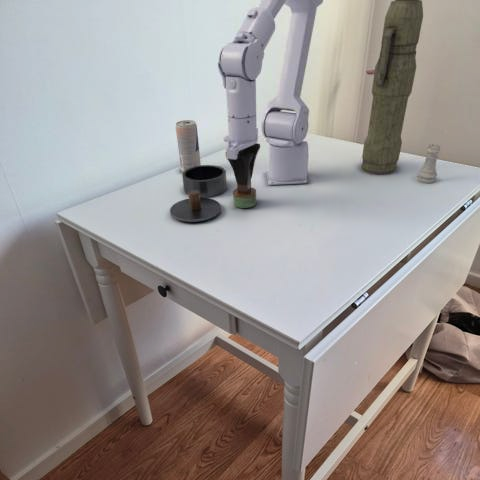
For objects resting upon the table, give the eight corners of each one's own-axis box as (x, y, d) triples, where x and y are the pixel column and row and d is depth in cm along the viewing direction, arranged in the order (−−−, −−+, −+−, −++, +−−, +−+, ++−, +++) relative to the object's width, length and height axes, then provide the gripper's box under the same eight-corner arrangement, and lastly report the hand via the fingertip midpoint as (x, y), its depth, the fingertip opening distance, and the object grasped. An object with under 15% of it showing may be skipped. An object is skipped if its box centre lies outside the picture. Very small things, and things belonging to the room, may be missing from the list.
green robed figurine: (405, 164, 110) (439, -4, 88) (384, 179, 103) (416, 0, 81) (373, 158, 115) (399, -4, 92) (351, 171, 108) (373, 0, 86)
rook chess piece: (415, 182, 101) (423, 148, 96) (416, 175, 104) (424, 142, 99) (435, 184, 100) (444, 149, 95) (436, 177, 103) (445, 143, 98)
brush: (237, 197, 98) (236, 162, 93) (259, 199, 97) (258, 164, 92) (230, 206, 94) (228, 171, 89) (252, 209, 93) (251, 173, 88)
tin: (226, 179, 108) (225, 164, 105) (226, 196, 100) (225, 180, 97) (186, 181, 108) (184, 166, 105) (182, 198, 100) (180, 182, 97)
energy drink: (202, 166, 115) (198, 119, 108) (199, 174, 111) (194, 125, 104) (183, 166, 116) (177, 120, 108) (179, 174, 112) (173, 126, 104)
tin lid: (221, 200, 98) (220, 181, 95) (220, 223, 89) (219, 202, 86) (173, 203, 98) (170, 183, 95) (167, 225, 89) (164, 204, 86)
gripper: (235, 105, 90) (238, 168, 99) (209, 123, 80) (215, 193, 88) (267, 106, 88) (267, 170, 97) (244, 125, 78) (247, 196, 86)
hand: (244, 181), depth 92 cm, fingers closed on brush, 2 cm apart
